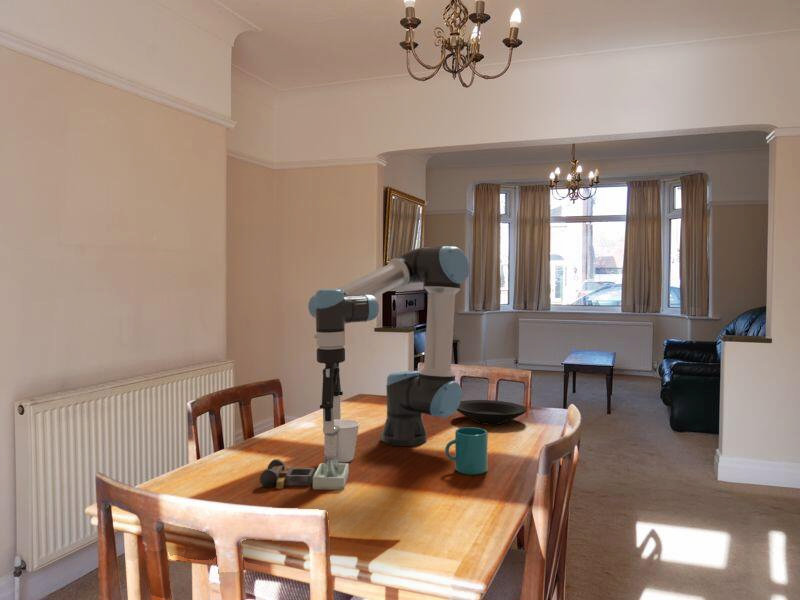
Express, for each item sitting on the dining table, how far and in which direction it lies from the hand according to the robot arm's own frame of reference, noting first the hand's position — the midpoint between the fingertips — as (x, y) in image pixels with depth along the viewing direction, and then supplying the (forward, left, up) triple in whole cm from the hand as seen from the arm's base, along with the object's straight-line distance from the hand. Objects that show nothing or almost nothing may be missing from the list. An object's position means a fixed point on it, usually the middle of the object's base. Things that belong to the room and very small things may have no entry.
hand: (332, 426), depth 160 cm
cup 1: (-1, -19, -15) cm, 24 cm away
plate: (-51, -68, -15) cm, 86 cm away
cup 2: (-37, -10, -15) cm, 41 cm away
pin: (0, 0, -14) cm, 14 cm away
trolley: (+12, +1, -15) cm, 19 cm away
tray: (0, 0, -15) cm, 15 cm away
